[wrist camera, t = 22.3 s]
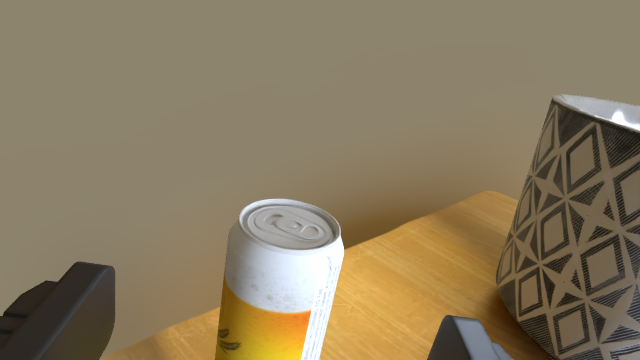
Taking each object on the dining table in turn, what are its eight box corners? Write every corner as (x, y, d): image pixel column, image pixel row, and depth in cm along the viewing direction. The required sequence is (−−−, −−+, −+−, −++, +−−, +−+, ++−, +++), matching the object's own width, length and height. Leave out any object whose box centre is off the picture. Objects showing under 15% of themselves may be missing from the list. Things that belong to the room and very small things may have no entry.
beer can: (241, 369, 31) (267, 185, 25) (316, 407, 29) (362, 218, 23) (187, 439, 25) (205, 225, 20) (275, 490, 24) (322, 271, 18)
